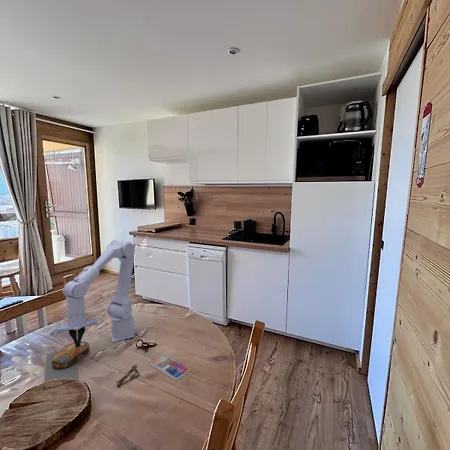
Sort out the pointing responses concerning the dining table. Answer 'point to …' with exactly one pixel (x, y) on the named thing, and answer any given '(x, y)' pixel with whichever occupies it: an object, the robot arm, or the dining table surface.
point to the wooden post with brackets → (128, 375)
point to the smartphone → (170, 367)
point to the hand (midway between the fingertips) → (77, 346)
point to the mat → (59, 370)
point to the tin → (69, 355)
